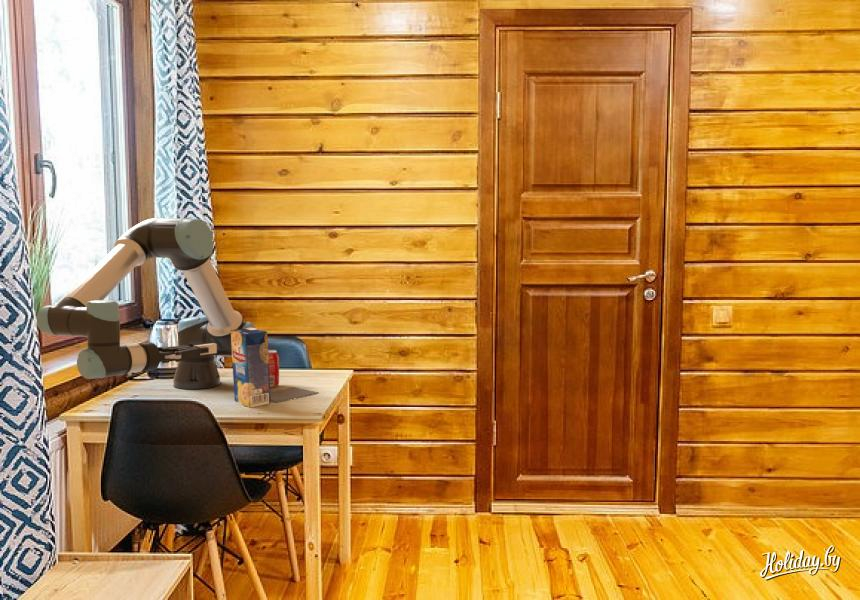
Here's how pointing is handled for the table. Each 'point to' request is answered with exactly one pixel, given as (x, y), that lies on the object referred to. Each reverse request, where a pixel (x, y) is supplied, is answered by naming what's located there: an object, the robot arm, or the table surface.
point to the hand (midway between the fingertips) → (215, 348)
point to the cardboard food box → (250, 366)
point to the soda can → (273, 368)
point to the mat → (289, 394)
